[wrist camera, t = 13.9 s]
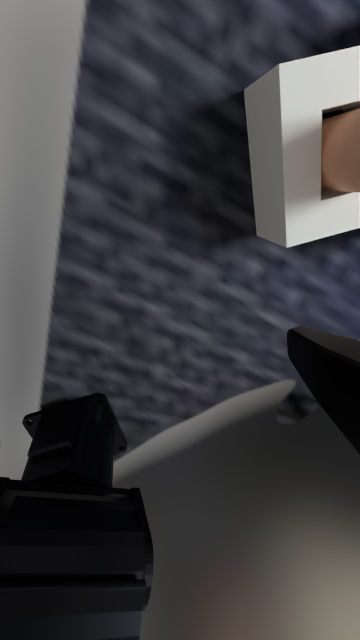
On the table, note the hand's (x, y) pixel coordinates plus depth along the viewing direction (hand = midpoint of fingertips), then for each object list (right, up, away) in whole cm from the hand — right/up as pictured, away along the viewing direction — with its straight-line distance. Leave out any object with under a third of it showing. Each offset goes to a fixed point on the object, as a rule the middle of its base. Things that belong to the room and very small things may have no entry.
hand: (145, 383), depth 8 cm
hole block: (+9, +12, +9) cm, 18 cm away
